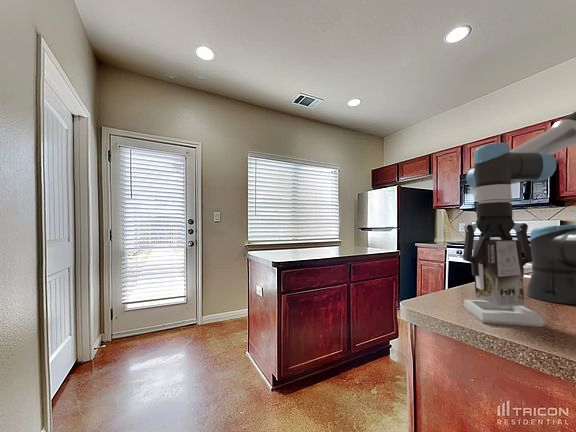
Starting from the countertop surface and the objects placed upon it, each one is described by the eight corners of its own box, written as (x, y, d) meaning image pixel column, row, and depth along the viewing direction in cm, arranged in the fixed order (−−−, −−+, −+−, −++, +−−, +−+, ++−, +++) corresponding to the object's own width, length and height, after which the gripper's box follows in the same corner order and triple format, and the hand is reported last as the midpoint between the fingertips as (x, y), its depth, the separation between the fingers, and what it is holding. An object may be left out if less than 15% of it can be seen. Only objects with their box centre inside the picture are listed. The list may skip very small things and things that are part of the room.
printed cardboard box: (526, 306, 65) (522, 240, 66) (499, 306, 65) (496, 240, 66) (497, 296, 74) (494, 238, 75) (474, 296, 74) (471, 238, 75)
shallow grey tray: (514, 311, 74) (514, 301, 74) (543, 327, 62) (542, 316, 62) (464, 308, 77) (464, 299, 77) (482, 322, 65) (482, 312, 65)
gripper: (530, 202, 72) (535, 287, 71) (446, 205, 77) (449, 284, 76) (549, 199, 64) (555, 294, 63) (455, 202, 70) (459, 290, 69)
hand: (497, 289), depth 70 cm, fingers closed on printed cardboard box, 7 cm apart
